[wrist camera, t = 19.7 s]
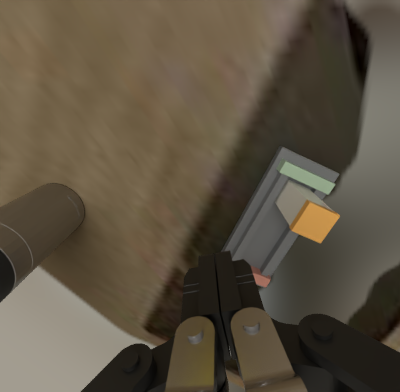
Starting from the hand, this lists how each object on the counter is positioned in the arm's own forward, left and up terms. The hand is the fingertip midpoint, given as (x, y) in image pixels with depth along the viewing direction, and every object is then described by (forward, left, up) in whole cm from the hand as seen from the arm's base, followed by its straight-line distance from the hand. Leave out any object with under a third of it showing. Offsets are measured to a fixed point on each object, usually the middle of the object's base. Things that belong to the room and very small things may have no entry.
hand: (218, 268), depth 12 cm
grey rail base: (+6, -15, -30) cm, 34 cm away
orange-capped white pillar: (+10, -10, -29) cm, 32 cm away
